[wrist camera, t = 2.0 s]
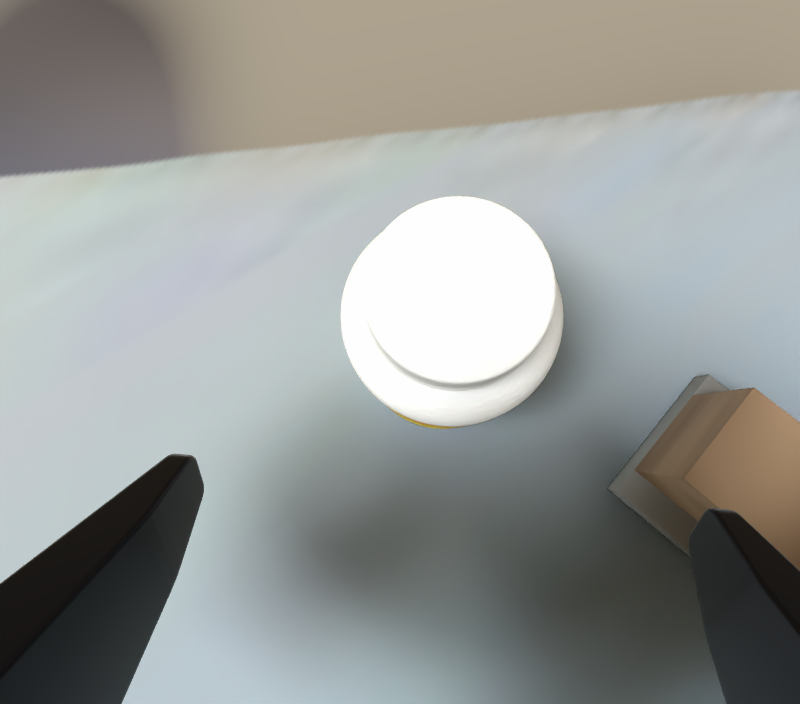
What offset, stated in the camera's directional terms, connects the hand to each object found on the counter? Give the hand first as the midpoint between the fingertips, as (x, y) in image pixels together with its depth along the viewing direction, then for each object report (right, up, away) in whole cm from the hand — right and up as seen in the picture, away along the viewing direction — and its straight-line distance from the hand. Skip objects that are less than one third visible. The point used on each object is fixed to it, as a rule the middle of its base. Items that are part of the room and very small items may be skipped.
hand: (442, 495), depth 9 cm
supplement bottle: (+1, +2, +11) cm, 12 cm away
